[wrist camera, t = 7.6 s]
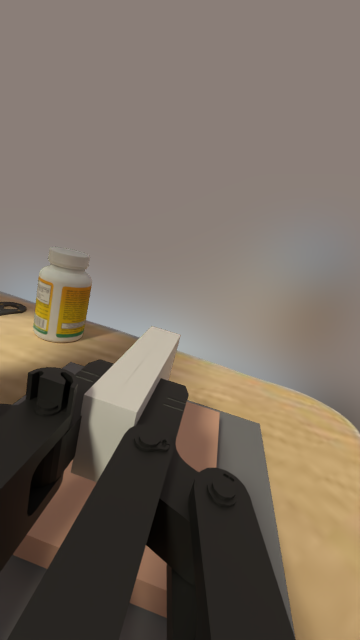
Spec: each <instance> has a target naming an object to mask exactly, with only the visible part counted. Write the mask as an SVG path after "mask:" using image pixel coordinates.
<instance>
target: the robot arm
mask: <svg viewBox="0 0 360 640" xmlns="http://www.w3.org/2000/svg"><path fill="white" fill-rule="evenodd" d="M180 336H181V335H179V334H176V333H173V332H169V331H166V330H163V329H160V328H157V327H153V326H151V327H150V328H149V329H148V330H147V331H146V332H145V333H144V334H143V335H142V336H141V337H140V338H139V339H138V340H137V341H136V342H135V343H134V344H133V345H132V346H131V347H130V348H129V349H128V350H127V351H126V352H125V353H124V355H123V356H122V357H121V358H120V359H119V360H118V361H117V362H116V363H115V364H113V363H110V362H106V361H103V360H97V361H94V362H91V363H88V364H87V365H86V366H85V367H83V368H82V369H81V371H79V372H77V373H76V374H75V375H74V374H73V373H72V372H70V371H68V370H66V369H61V368H51V367H46V368H40V369H36V370H33V371H31V372H29V373H28V381H27V391H26V399H25V400H24V401H23V402H21V403H20V404H19V405H9V404H0V572H1V570H2V569H3V568H4V566H5V565H6V563H7V562H8V560H9V559H10V558H11V556H12V555H13V553H14V552H15V551H16V549H17V548H18V546H19V545H20V543H21V542H22V541H23V539H24V538H25V536H26V535H27V533H28V532H29V531H30V529H31V528H32V526H33V525H34V524H35V522H36V521H37V519H38V518H39V516H40V515H41V514H42V512H43V511H44V509H45V508H46V506H47V505H48V504H49V502H50V501H51V499H52V498H53V497H54V495H55V494H56V492H57V491H58V489H59V488H60V485H61V483H62V480H63V474H64V470H65V469H66V468H67V466H68V465H69V464H70V462H71V461H72V460H73V462H72V468H71V473H73V474H75V475H78V476H81V477H83V478H86V479H89V480H92V481H94V482H97V483H96V485H95V486H94V488H93V490H92V492H91V493H90V495H89V497H88V499H87V500H86V502H85V504H84V506H83V507H82V509H81V511H80V513H79V514H78V516H77V518H76V520H75V521H74V523H73V525H72V527H71V528H70V530H69V532H68V534H67V535H66V537H65V539H64V541H63V542H62V544H61V546H60V548H59V549H58V551H57V553H56V555H55V556H54V558H53V560H52V562H51V563H50V565H49V567H48V569H47V571H46V572H45V574H44V576H43V578H42V579H41V581H40V583H39V585H38V586H37V588H36V590H35V592H34V593H33V595H32V597H31V599H30V600H29V602H28V604H27V606H26V607H25V609H24V611H23V613H22V614H21V616H20V618H19V620H18V621H17V623H16V625H15V627H14V628H13V630H12V632H11V634H10V635H9V637H8V639H7V640H119V637H120V634H121V630H122V627H123V623H124V620H125V616H126V613H127V609H128V606H129V602H130V599H131V595H132V592H133V588H134V585H135V582H136V578H137V575H138V571H139V568H140V564H141V561H142V557H143V554H144V550H145V547H146V546H148V547H149V548H150V549H151V550H152V551H153V552H154V553H155V554H157V555H158V556H159V557H160V558H161V559H162V560H163V561H164V562H166V563H167V566H166V576H167V640H295V637H294V634H293V630H292V627H291V624H290V621H289V618H288V615H287V611H286V608H285V605H284V602H283V599H282V596H281V593H280V589H279V586H278V583H277V580H276V577H275V574H274V571H273V567H272V564H271V561H270V558H269V555H268V552H267V549H266V545H265V542H264V539H263V536H262V533H261V530H260V527H259V523H258V520H257V517H256V514H255V511H254V508H253V505H252V501H251V498H250V495H249V493H248V491H247V489H246V487H245V486H244V484H243V483H242V482H241V481H240V480H239V479H238V478H237V477H236V476H234V475H233V474H231V473H230V472H228V471H226V470H223V469H220V468H206V469H204V470H202V471H200V472H198V471H196V470H195V469H193V468H192V467H191V466H189V465H188V464H187V463H186V462H185V461H184V460H183V459H182V458H181V457H180V455H179V453H178V451H177V449H176V437H177V434H178V430H179V427H180V423H181V420H182V416H183V413H184V409H185V406H186V402H187V399H188V392H187V389H186V386H183V385H180V384H177V383H174V382H171V381H168V380H169V376H170V372H171V369H172V365H173V361H174V358H175V354H176V350H177V347H178V343H179V339H180Z"/></svg>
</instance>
